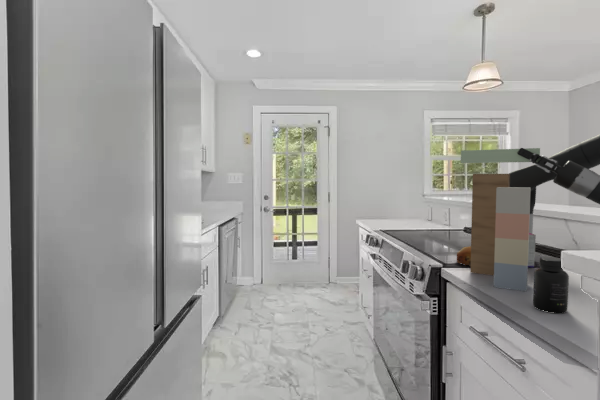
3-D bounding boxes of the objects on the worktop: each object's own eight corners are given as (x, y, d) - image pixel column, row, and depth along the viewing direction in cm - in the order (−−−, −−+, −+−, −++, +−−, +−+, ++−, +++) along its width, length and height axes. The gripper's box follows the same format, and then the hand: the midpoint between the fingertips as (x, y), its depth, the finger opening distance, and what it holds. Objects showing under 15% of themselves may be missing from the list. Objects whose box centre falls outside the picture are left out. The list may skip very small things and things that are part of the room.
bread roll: (486, 273, 137) (488, 251, 139) (483, 266, 129) (485, 243, 131) (457, 269, 142) (459, 249, 145) (452, 263, 134) (455, 241, 137)
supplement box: (535, 267, 129) (536, 234, 129) (516, 267, 131) (517, 234, 130) (528, 264, 135) (529, 232, 134) (510, 263, 136) (511, 231, 136)
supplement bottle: (526, 304, 93) (527, 255, 92) (552, 303, 93) (554, 255, 92) (546, 314, 86) (548, 262, 85) (575, 313, 86) (577, 261, 86)
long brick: (462, 163, 128) (463, 151, 128) (539, 161, 117) (540, 148, 117) (460, 162, 125) (460, 150, 125) (539, 161, 113) (540, 148, 113)
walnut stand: (473, 267, 130) (476, 174, 128) (507, 271, 125) (510, 173, 123) (470, 272, 123) (472, 173, 121) (505, 276, 118) (508, 173, 116)
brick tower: (496, 280, 114) (499, 187, 112) (527, 284, 110) (530, 187, 108) (493, 286, 107) (496, 187, 106) (526, 291, 103) (530, 188, 101)
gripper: (583, 168, 115) (527, 141, 123) (588, 167, 103) (525, 138, 111) (567, 189, 118) (513, 162, 125) (570, 190, 106) (510, 160, 113)
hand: (519, 151), depth 118 cm, fingers closed on long brick, 4 cm apart
